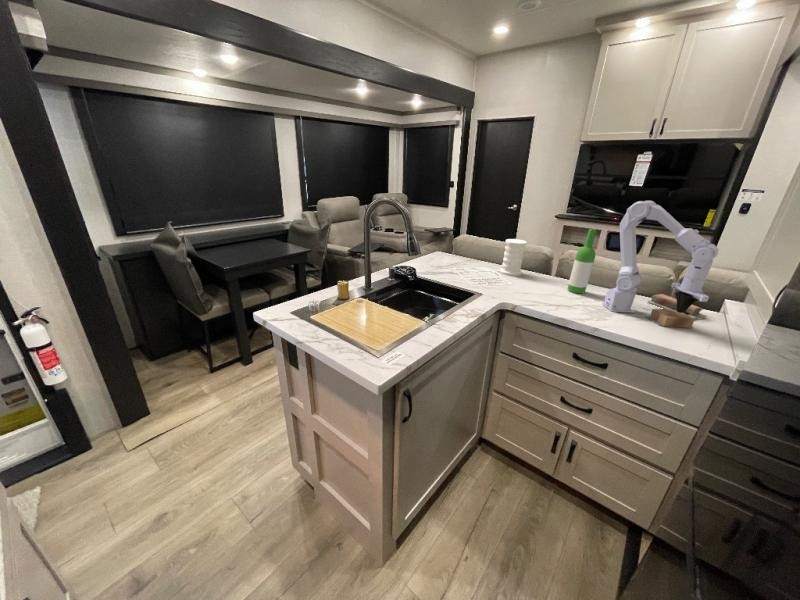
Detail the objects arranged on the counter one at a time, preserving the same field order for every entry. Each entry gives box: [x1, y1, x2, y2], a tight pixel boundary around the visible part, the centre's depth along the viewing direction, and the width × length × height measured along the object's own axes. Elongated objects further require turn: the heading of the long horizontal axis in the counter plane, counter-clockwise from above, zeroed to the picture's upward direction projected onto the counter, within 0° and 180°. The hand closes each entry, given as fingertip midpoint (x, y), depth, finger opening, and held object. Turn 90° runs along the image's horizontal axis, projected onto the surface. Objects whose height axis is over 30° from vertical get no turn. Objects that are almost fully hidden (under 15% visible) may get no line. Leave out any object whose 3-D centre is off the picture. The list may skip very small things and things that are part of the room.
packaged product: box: [646, 293, 708, 320], centre depth 134 cm, size 18×5×10 cm
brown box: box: [649, 308, 696, 329], centre depth 121 cm, size 10×4×8 cm
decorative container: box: [499, 238, 528, 277], centre depth 172 cm, size 12×12×18 cm
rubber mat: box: [646, 315, 664, 327], centre depth 123 cm, size 12×8×1 cm, turn 86°
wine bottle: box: [567, 228, 597, 295], centre depth 145 cm, size 8×8×30 cm
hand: (680, 311), depth 118 cm, fingers closed
